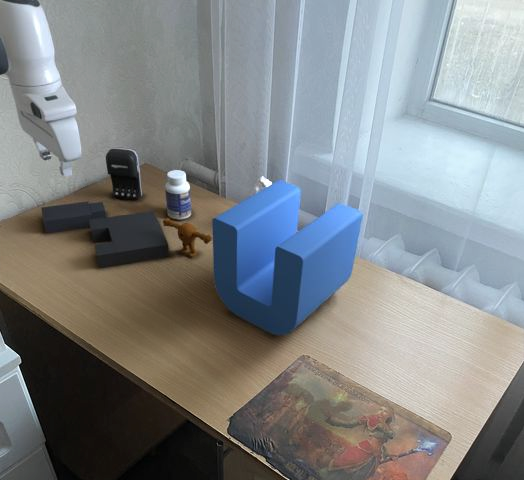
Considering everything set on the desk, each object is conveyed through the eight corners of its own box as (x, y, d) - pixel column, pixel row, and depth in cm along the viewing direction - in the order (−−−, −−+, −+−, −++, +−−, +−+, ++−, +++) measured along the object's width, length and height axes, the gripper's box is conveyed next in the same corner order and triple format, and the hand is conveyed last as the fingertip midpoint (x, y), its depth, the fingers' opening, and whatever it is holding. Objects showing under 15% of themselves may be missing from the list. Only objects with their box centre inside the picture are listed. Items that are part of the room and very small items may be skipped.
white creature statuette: (230, 224, 120) (229, 173, 112) (262, 214, 123) (264, 165, 115) (252, 244, 114) (254, 192, 106) (285, 234, 118) (289, 183, 110)
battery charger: (110, 200, 126) (101, 152, 118) (115, 192, 128) (107, 145, 120) (139, 203, 125) (132, 155, 117) (143, 195, 128) (138, 148, 120)
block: (214, 303, 99) (212, 216, 87) (272, 261, 110) (277, 178, 98) (293, 345, 92) (303, 257, 80) (347, 296, 103) (363, 211, 90)
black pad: (99, 268, 106) (97, 255, 104) (90, 232, 115) (88, 219, 113) (169, 256, 110) (168, 244, 108) (155, 222, 119) (154, 210, 117)
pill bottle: (184, 222, 120) (181, 181, 113) (163, 217, 121) (159, 176, 114) (195, 211, 123) (193, 171, 117) (174, 206, 125) (171, 166, 118)
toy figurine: (160, 247, 112) (157, 218, 107) (172, 240, 114) (169, 211, 110) (205, 268, 107) (204, 238, 103) (216, 259, 110) (216, 230, 105)
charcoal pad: (46, 233, 114) (43, 221, 112) (44, 219, 118) (41, 207, 116) (108, 224, 118) (106, 212, 116) (104, 211, 122) (102, 199, 120)
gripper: (0, 83, 103) (20, 153, 113) (46, 115, 92) (64, 190, 102) (31, 77, 106) (48, 145, 116) (80, 108, 95) (94, 181, 105)
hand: (56, 166), depth 109 cm, fingers open, 8 cm apart
